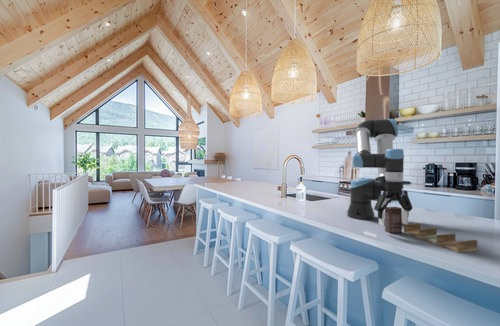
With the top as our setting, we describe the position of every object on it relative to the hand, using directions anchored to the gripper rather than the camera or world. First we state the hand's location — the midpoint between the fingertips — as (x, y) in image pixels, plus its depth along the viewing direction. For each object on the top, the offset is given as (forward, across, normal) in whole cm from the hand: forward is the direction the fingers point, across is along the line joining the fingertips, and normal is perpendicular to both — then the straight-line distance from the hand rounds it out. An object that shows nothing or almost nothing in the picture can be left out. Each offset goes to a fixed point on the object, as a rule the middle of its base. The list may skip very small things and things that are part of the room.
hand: (393, 224), depth 113 cm
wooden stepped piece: (+4, +9, -14) cm, 17 cm away
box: (+4, 0, 0) cm, 4 cm away
